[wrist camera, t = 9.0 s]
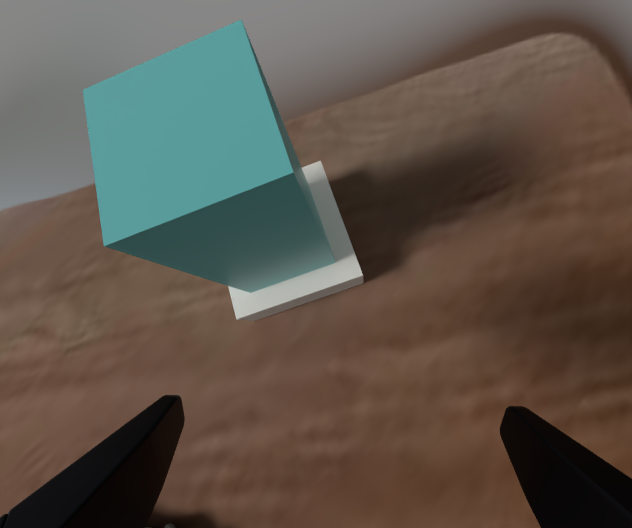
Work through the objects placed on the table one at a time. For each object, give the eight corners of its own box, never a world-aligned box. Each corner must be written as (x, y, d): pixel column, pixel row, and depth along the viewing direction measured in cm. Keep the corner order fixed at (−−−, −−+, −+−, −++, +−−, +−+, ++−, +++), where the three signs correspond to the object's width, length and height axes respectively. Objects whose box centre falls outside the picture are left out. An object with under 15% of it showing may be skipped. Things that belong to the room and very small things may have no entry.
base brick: (363, 283, 20) (363, 275, 17) (254, 321, 21) (236, 319, 18) (326, 182, 22) (320, 160, 19) (228, 220, 23) (208, 204, 20)
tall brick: (335, 262, 18) (293, 172, 8) (250, 292, 18) (104, 246, 8) (308, 183, 19) (241, 19, 9) (229, 214, 20) (82, 90, 9)
